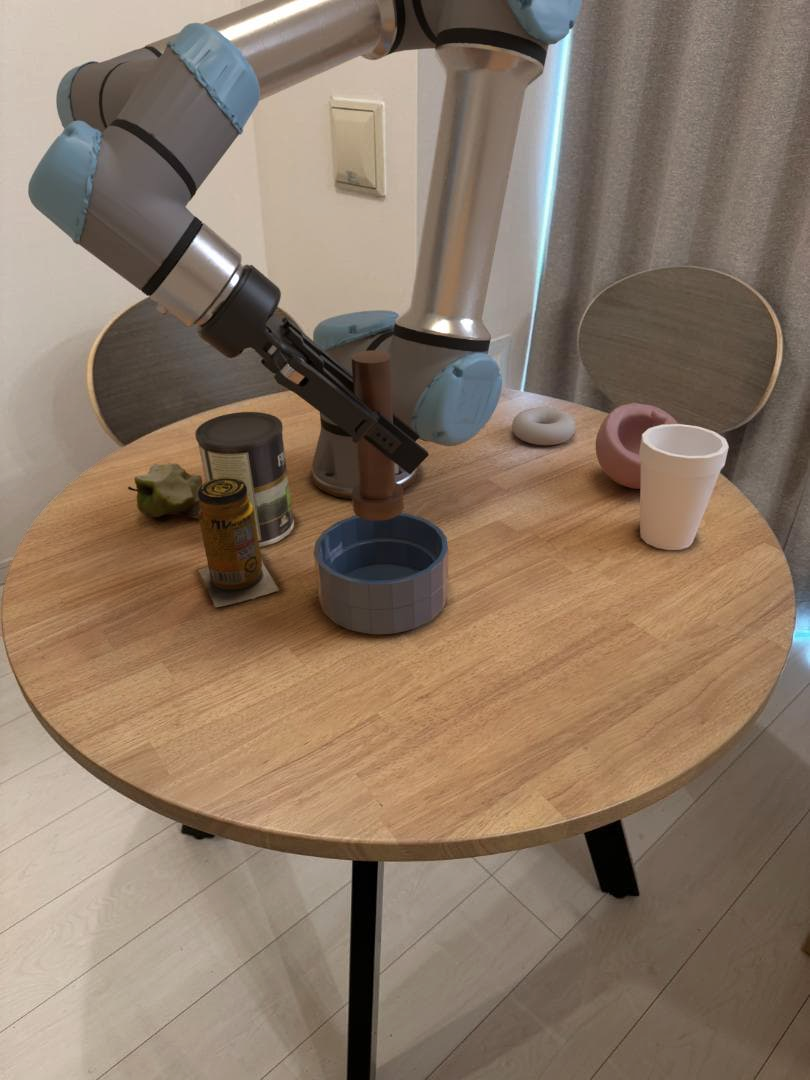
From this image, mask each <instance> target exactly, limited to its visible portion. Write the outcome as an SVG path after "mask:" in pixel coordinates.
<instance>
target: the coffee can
mask: <svg viewBox="0 0 810 1080" xmlns="http://www.w3.org/2000/svg"><path fill="white" fill-rule="evenodd" d="M283 429H284V427H283V423H282V421H281V419H280V418H279V417H277V416H275V415H273V414H269V413H266V412H259V411H241V412H233V413H227V414H222V415H218V416H216V417H213V418H210V419H208V420H206V421H205V422H203V423H201V424H200V425H199V426H198V427H197V428H196V429H195V432H194V434H195V436H194V437H195V440H196V442H197V443H198V449H199V455H200V459H201V464H202V469H203V470H202V471H203V474H204V479H205V480H204V481H205V483H206V482H208V481H210V480H213V479H217V478H226V477H229V478H230V477H231V478H236V479H239V480H241V481H243V482H244V483H245V485H246V487H247V494H248V497H249V502H250V503H251V504H252V506H253V508H254V514H255V522H256V529H257V535H258V542H259V546H260V548H262V547H267V546H271V545H273V544H276V543H278V542H280V541H281V540H283V539H285V538H286V537H287V536H289V535H290V534H291V532H292V531H293V529H294V527H295V520H294V515H293V509H292V507H293V506H292V500H291V492H290V486H289V484H290V483H289V477H288V469H287V468H288V467H287V461H286V452H285V445H284V437H283V431H284V430H283Z"/></svg>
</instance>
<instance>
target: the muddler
mask: <svg viewBox="0 0 810 1080" xmlns="http://www.w3.org/2000/svg"><path fill="white" fill-rule="evenodd" d="M351 358H352V374H353V390H354V394H355V395H356V396H357V397H358V398H359V399H360V400H361V401H363V402H364V403H365V404H366V405H367V406H368V407H369V408H371V409H372V410H373V411H375V412H376V413H378V412H380V413H381V414H382V415H384V416H385V417H386V418H387V419H388V420H390V421H391V422H392V423H393V410H392V380H391V356H390V354H389V353H387V352H383V351H375V350H371V351H362V352H358V353H356V354H354V355H353V356H352V357H351ZM357 454H358V470H359V484H358V485H357V486H355V487H354V489H353V491H352V499H351V500H352V510H353V513H354V514H355V515H357V516H358V517H360V518H362V519H366V520H371V521H382V520H388V519H391V518H394V517H396V516H398V515H399V514H400V513H403V511H404V507H405V505H404V490H403V489H402V487H401V486H400V485H399V484H398V483H396V482H395V469H394V462H393V461H392V460H391V459H390V458H388V457H387V456H386V455H385V454H383V453H382V452H381V451H379V450H378V449H377V448H376V447H374V446H373V445H372V444H371V443H369V442H368V441H367V440H366V439H364V438H362V439H361V440H360V441H358V442H357Z"/></svg>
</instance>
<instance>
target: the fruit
mask: <svg viewBox="0 0 810 1080" xmlns="http://www.w3.org/2000/svg"><path fill="white" fill-rule="evenodd" d="M134 484H135V486H136V488H133V487H131V486H128V487H127V489H128V490H129V491H133V492H136V507H137V510H138V511H139V513H142V514H143V515H145V516H147V517H149V518H154V519H159V520H163V518H162V516H164V515H181V516H185V517H190V518H194V519H196V520H199V511H200V509H201V508H200V505H199V502H200V500H199V497H198V491H199V488H200V487H201V486H202V485H203V479H202V477H201V475H200V474H198V473H197V474H196V473H194V474H191V473H189V472H187V470H185V469H184V468H183V467H182V466H181V465H180V464H178V463H166V464H159V463H158V464H157V463H154V464H153V465H150V467H149V470H148V471H147V474H143V475H139V476H134Z"/></svg>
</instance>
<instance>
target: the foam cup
mask: <svg viewBox="0 0 810 1080" xmlns="http://www.w3.org/2000/svg"><path fill="white" fill-rule="evenodd" d="M729 449H730V447H729V443H728V441H727V438H725V437H724V436H722V435H721V434H720V433H717V432H716V431H713V430H711V429H708V428H706V427H705V428H704V427H701V426H698V425H690V424H682V423H678V424H666V425H659V426H656V427H652V428H649V429H648V430H646V431H645V432H644V433H643V434H642V438H641V444H640V451H639V454H640V460H641V486H640V489H639V490H640V491H639V492H640V495H639V497H640V499H639V534H640V538H641V539H642V541H644V543H646V544H647V545H649V546H652V547H654V548H655V549H661V550H666V551H681V550H684V549H687V548H688V547H690V546H691V545H692V544H693V543H694V539H695V538H696V536H697V533H698V530H699V527H700V525H701V523H702V520H703V518H704V515H705V512H706V509H707V508H708V504H709V501H710V499H711V496H712V494H713V491H714V489H715V487H716V483H717V481H718V478H719V476H720V474H721V471H722V469H723V468H724V467H725V465H726V461H727V456H728V452H729Z"/></svg>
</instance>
